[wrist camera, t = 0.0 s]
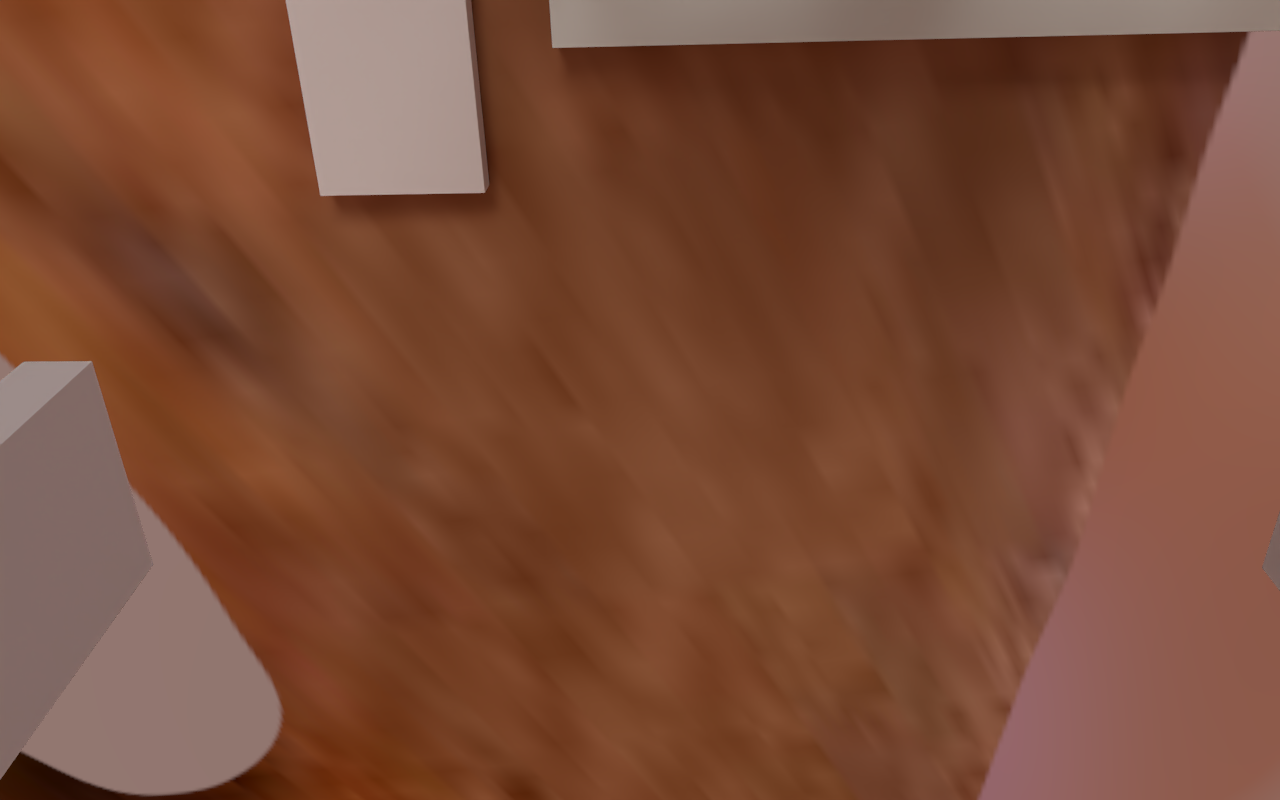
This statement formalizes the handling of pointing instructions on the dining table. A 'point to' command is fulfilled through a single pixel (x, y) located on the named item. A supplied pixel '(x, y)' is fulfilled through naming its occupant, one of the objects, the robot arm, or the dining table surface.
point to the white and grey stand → (888, 19)
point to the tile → (391, 95)
